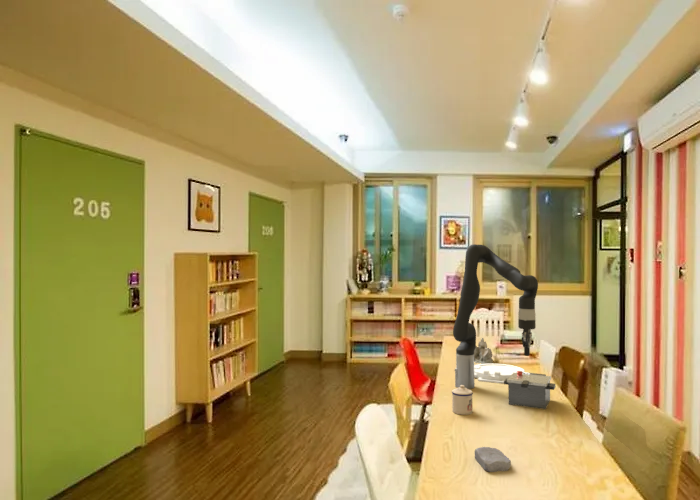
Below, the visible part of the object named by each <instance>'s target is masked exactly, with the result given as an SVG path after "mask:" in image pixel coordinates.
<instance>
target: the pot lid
mask: <svg viewBox="0 0 700 500" xmlns="http://www.w3.org/2000/svg"><path fill="white" fill-rule="evenodd" d="M551 379H552V376H551V375H546V374H545V373H544V374H543V373H536V372H526V371H525V372H522V371H517V373H513V374H512V375H511V376H510V377H509V378H508V379H507V382H509V383H518V384H521V387H524V388H527V387H528V385H536V386H545V387H546V386H547V385H548V383H549V381H550V382H551Z"/></svg>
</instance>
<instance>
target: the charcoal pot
mask: <svg viewBox="0 0 700 500" xmlns="http://www.w3.org/2000/svg"><path fill="white" fill-rule="evenodd" d="M504 385H507V386H508V388H507V389H508V405H510V406H518V407H525V408H532V409H541V410H547V408H548V405H549V403H550V401H551V391H552V390H553V391H555V389H556V383H551V380H550V381H549V383H548V385H547V386H546V387H545V386H536V385H528V387H527V388H524V387H521V384H518V383H509V382H507V378H506V380H505V381H504Z"/></svg>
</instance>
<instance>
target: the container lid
mask: <svg viewBox="0 0 700 500" xmlns="http://www.w3.org/2000/svg"><path fill="white" fill-rule="evenodd" d="M517 371H522V372H526V371H525V369H524V368H522V367H519V366H516V365H512V364H508V363H506V364H505V363H494V362H493V363H488V364H480V363H476V364H474V379H475V378H476V379H477V381H478V382H484V383H495V384H504V381H505V380H506V378H507V379H508V378H509V377H510V376H511V375H512V374H513V373H517ZM504 385H505V384H504Z"/></svg>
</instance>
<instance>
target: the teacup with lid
mask: <svg viewBox="0 0 700 500" xmlns="http://www.w3.org/2000/svg"><path fill="white" fill-rule="evenodd" d="M451 394H452V395H451V397H452V403H451V404H452V406H451V408H452V412H453V413H454V414H457V415H463V416H466V415H471V414H472V413H473V411H474V410H473V394H474V392H473V391H472V390H471V389H467V388H465V386H464V385H460V387H456V388H454V389H452V390H451Z"/></svg>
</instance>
